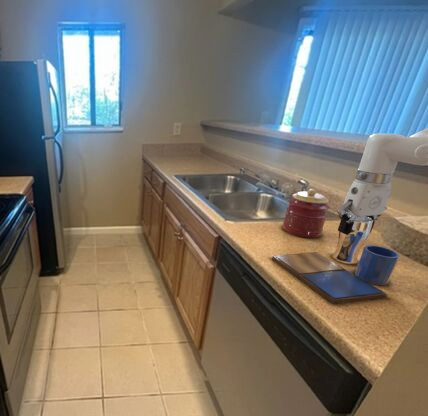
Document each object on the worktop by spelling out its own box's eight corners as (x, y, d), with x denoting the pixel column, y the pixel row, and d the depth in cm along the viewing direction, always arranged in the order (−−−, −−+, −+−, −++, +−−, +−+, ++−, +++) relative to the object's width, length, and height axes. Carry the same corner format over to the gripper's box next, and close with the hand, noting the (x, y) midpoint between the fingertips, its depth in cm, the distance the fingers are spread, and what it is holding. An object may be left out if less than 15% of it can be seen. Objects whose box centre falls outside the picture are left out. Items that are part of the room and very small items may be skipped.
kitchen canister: (286, 236, 106) (297, 192, 100) (278, 222, 117) (287, 183, 111) (326, 240, 102) (341, 195, 96) (314, 226, 114) (325, 185, 107)
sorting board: (314, 254, 93) (315, 251, 92) (385, 297, 73) (387, 293, 72) (271, 259, 91) (272, 255, 90) (332, 303, 71) (333, 299, 70)
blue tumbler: (368, 270, 84) (378, 244, 81) (394, 284, 78) (406, 256, 74) (348, 272, 83) (358, 246, 80) (372, 286, 77) (384, 258, 74)
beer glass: (359, 267, 85) (375, 224, 80) (331, 260, 89) (344, 218, 84) (357, 258, 91) (372, 216, 85) (330, 251, 95) (343, 211, 89)
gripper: (360, 182, 75) (340, 239, 82) (413, 179, 78) (390, 235, 84) (334, 175, 82) (319, 228, 89) (384, 172, 85) (365, 225, 91)
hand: (354, 231), depth 86 cm, fingers open, 7 cm apart
